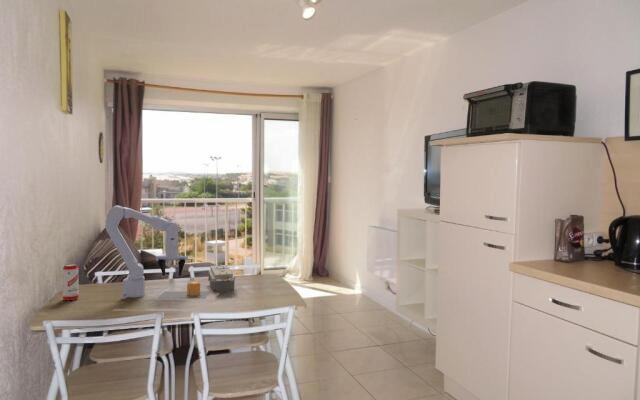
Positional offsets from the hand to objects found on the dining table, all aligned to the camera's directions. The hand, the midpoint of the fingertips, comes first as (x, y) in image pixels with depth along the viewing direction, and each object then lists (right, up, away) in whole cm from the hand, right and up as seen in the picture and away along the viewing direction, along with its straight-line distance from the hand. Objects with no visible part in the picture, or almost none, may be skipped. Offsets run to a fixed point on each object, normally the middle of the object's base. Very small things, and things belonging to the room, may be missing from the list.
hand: (171, 275), depth 215 cm
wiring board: (+7, -10, -3) cm, 12 cm away
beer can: (-43, -10, -11) cm, 45 cm away
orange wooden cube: (+11, -9, -2) cm, 14 cm away
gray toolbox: (+20, -9, +15) cm, 27 cm away
